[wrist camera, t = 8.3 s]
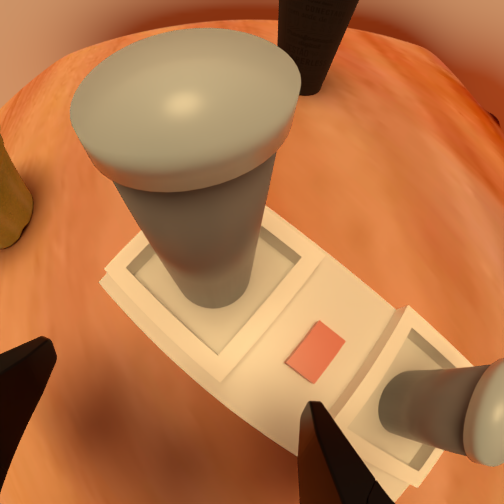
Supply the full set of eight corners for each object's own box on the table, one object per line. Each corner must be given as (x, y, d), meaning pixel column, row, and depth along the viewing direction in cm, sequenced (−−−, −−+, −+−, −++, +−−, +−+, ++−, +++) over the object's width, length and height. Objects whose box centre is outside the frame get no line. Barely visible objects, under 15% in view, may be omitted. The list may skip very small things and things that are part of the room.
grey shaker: (195, 326, 16) (87, 208, 4) (160, 256, 17) (65, 72, 5) (269, 287, 17) (350, 105, 5) (229, 222, 18) (232, 17, 6)
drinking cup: (295, 112, 24) (341, -88, 6) (248, 74, 26) (264, -95, 8) (347, 94, 26) (402, -63, 8) (301, 60, 28) (331, -82, 10)
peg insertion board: (382, 498, 13) (470, 554, 3) (107, 288, 17) (10, 215, 8) (460, 379, 16) (565, 367, 7) (216, 181, 21) (209, 59, 11)
